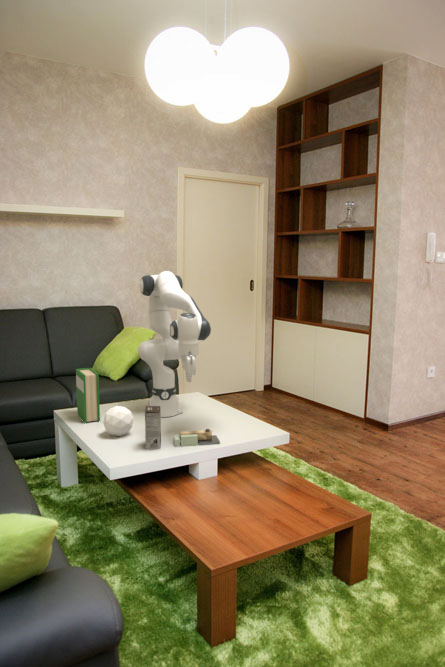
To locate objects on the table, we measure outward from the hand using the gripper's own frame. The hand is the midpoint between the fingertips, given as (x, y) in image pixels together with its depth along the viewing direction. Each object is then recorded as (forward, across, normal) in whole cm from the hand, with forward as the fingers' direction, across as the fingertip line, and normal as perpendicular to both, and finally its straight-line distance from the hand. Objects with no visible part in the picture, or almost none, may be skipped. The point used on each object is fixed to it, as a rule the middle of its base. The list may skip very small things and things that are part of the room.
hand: (188, 381), depth 233 cm
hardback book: (+25, +39, +46) cm, 66 cm away
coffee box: (+25, -9, +16) cm, 32 cm away
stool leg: (+24, -8, -2) cm, 25 cm away
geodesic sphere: (+25, +9, +31) cm, 41 cm away
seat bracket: (+25, -9, +3) cm, 27 cm away
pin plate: (+25, -8, -7) cm, 27 cm away
